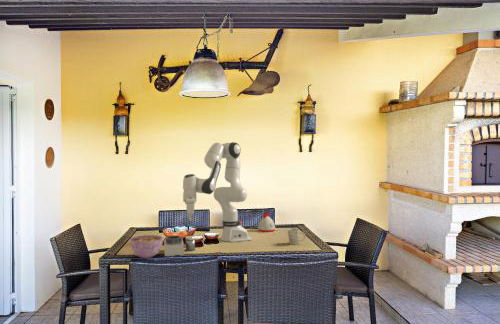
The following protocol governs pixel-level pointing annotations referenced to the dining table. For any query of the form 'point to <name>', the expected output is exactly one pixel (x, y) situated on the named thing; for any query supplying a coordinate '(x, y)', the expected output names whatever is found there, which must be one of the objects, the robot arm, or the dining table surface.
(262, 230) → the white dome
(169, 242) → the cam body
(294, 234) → the mug
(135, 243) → the bowl of food
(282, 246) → the dining table surface
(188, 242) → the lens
